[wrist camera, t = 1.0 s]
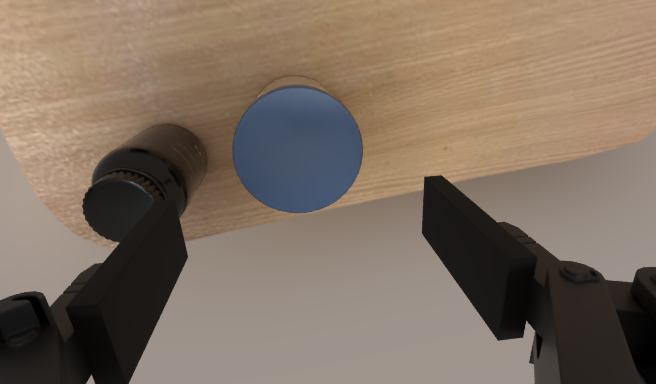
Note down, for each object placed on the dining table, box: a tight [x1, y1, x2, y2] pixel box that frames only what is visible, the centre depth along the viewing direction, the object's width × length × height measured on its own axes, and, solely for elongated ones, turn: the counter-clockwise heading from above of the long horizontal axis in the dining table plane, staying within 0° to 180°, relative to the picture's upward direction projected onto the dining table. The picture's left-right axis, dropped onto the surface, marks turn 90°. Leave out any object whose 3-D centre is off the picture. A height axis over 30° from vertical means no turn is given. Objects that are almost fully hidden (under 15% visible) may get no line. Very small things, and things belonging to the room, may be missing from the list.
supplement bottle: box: [82, 125, 207, 242], centre depth 30 cm, size 7×7×12 cm
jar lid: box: [233, 85, 363, 213], centre depth 26 cm, size 9×9×2 cm
